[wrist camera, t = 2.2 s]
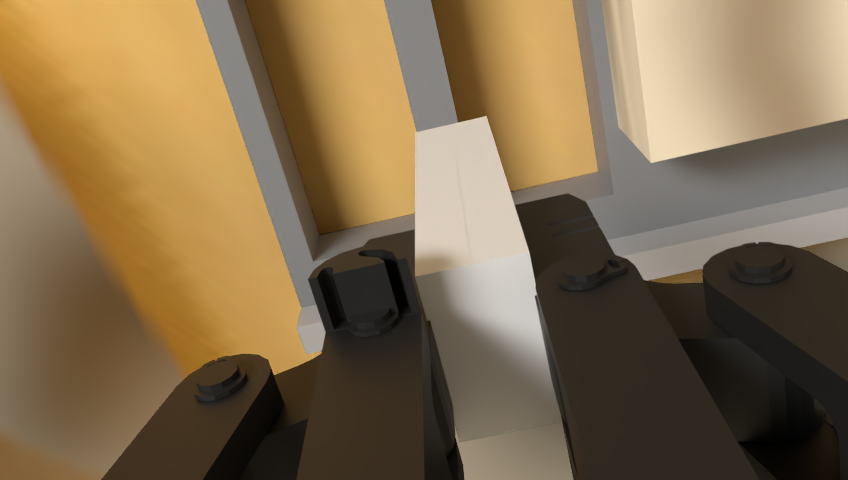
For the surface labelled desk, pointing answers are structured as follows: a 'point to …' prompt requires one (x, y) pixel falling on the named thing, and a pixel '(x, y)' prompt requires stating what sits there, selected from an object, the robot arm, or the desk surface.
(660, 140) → the block
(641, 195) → the lane deck
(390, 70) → the desk surface
